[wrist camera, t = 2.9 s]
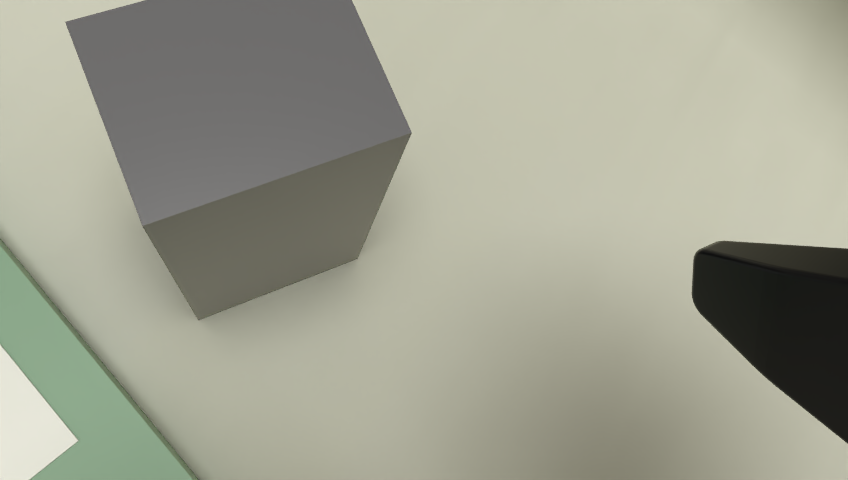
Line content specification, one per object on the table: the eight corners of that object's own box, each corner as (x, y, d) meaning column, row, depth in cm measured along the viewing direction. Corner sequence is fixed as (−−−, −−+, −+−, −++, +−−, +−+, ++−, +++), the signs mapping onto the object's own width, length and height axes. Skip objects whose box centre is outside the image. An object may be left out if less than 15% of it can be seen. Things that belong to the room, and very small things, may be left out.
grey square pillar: (357, 258, 24) (411, 132, 14) (198, 319, 22) (142, 226, 13) (308, 144, 24) (329, -50, 15) (151, 197, 23) (65, 21, 14)
